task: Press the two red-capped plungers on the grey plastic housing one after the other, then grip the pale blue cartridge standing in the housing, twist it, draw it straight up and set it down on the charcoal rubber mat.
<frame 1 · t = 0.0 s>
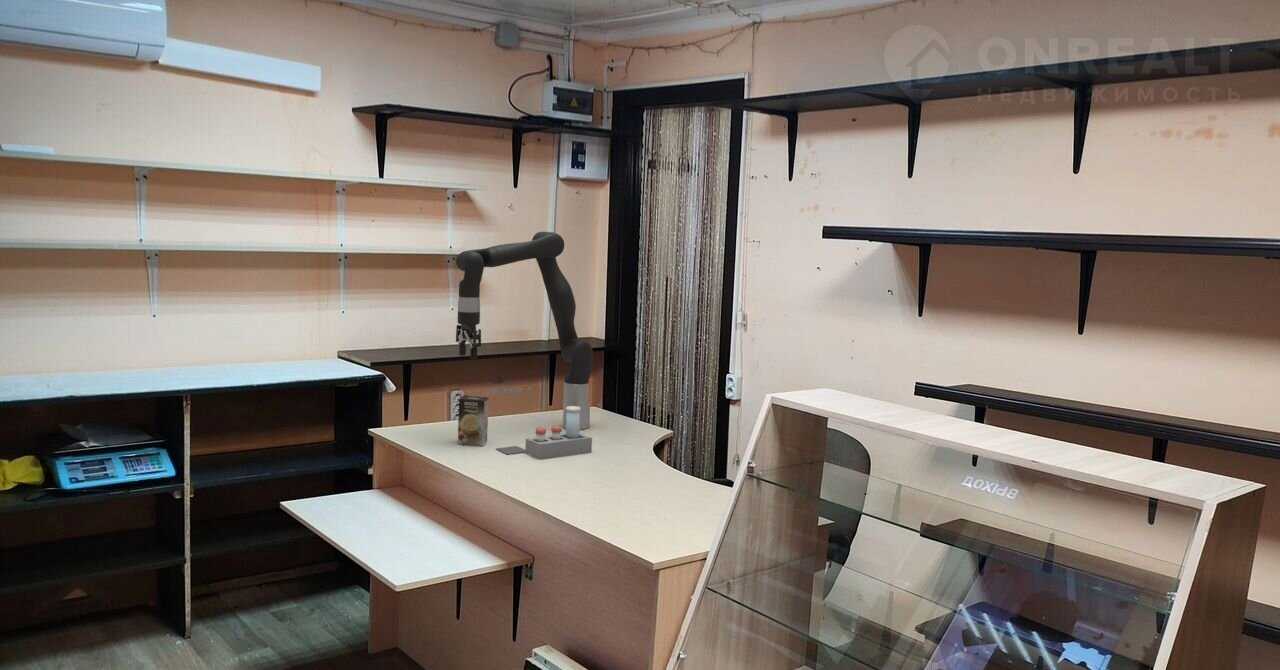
hand: (467, 357, 318), 29 cm above the table, tool pointing down, fingers open, 8 cm apart
cartridge: (571, 450, 313), resting in housing
plunger a: (556, 434, 309), point 6 cm above the table, slide at 0.0 cm
coffee box: (472, 444, 317), on the table
housing: (559, 452, 310), on the table
mat: (512, 450, 310), on the table
plunger b: (540, 436, 305), point 6 cm above the table, slide at 0.0 cm
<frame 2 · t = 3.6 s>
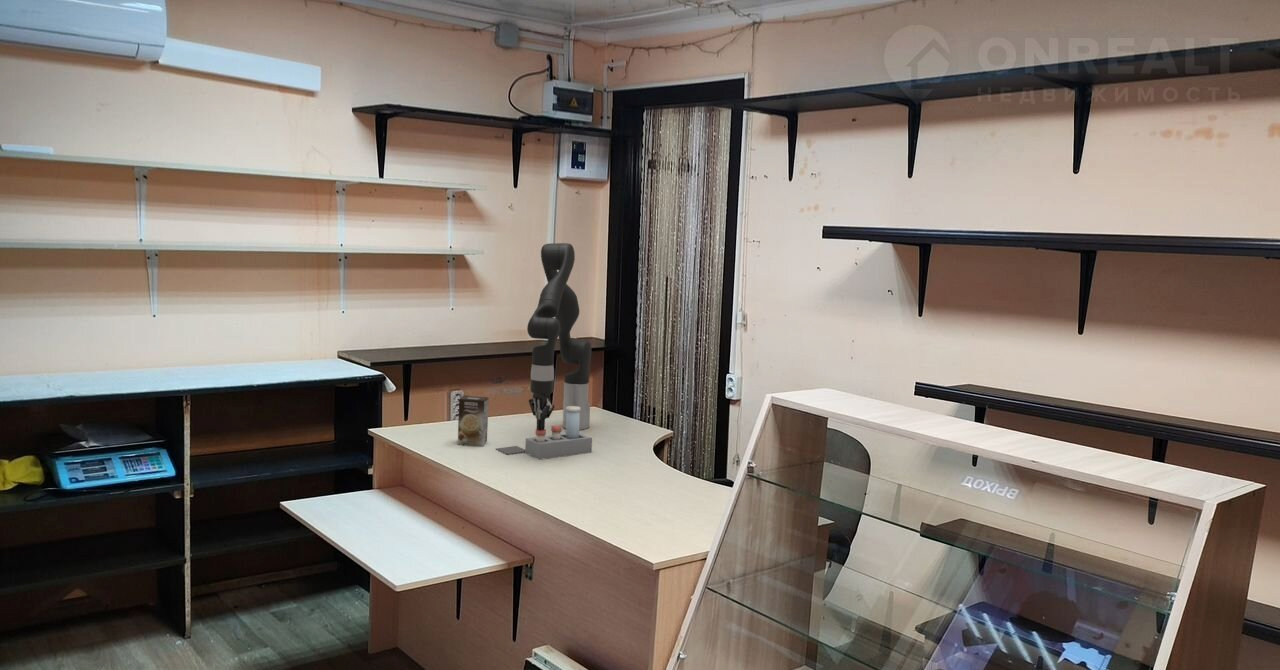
hand: (540, 429, 305), 9 cm above the table, tool pointing down, fingers closed
plunger b: (540, 438, 305), point 6 cm above the table, slide at -0.5 cm, touching gripper
everything else where it was.
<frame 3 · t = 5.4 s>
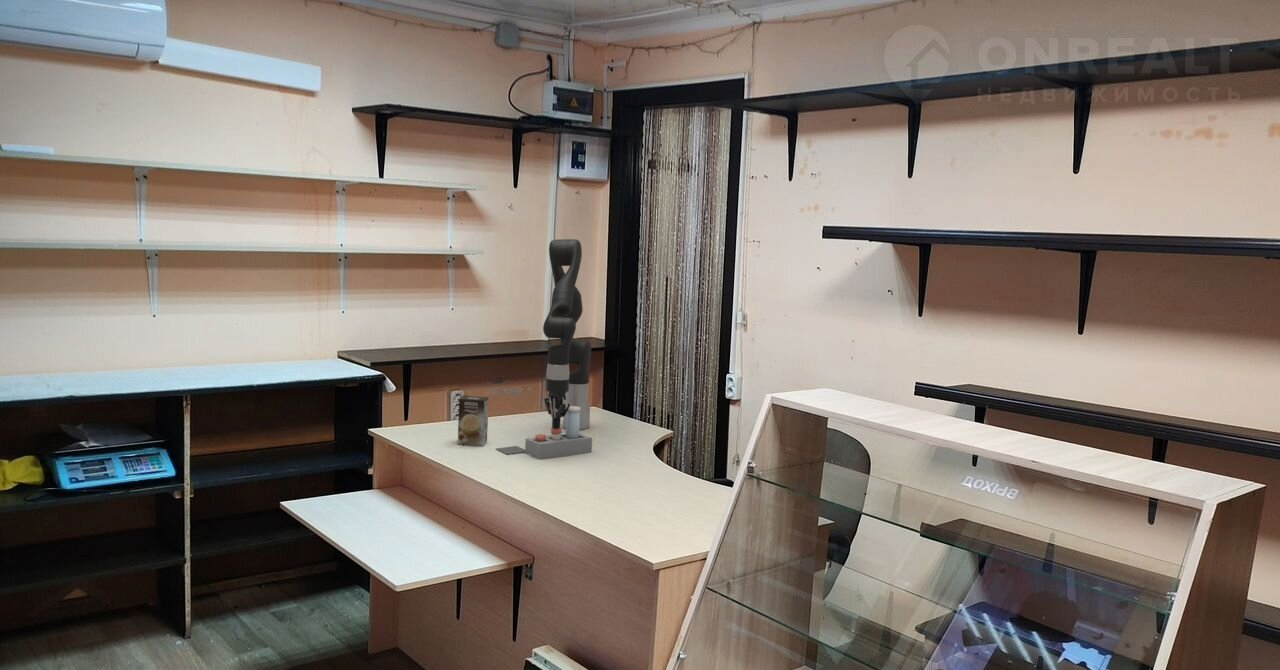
hand: (555, 428, 308), 8 cm above the table, tool pointing down, fingers closed
plunger a: (556, 436, 309), point 6 cm above the table, slide at -0.6 cm, touching gripper
plunger b: (540, 443, 305), point 4 cm above the table, slide at -2.3 cm
everything else where it was.
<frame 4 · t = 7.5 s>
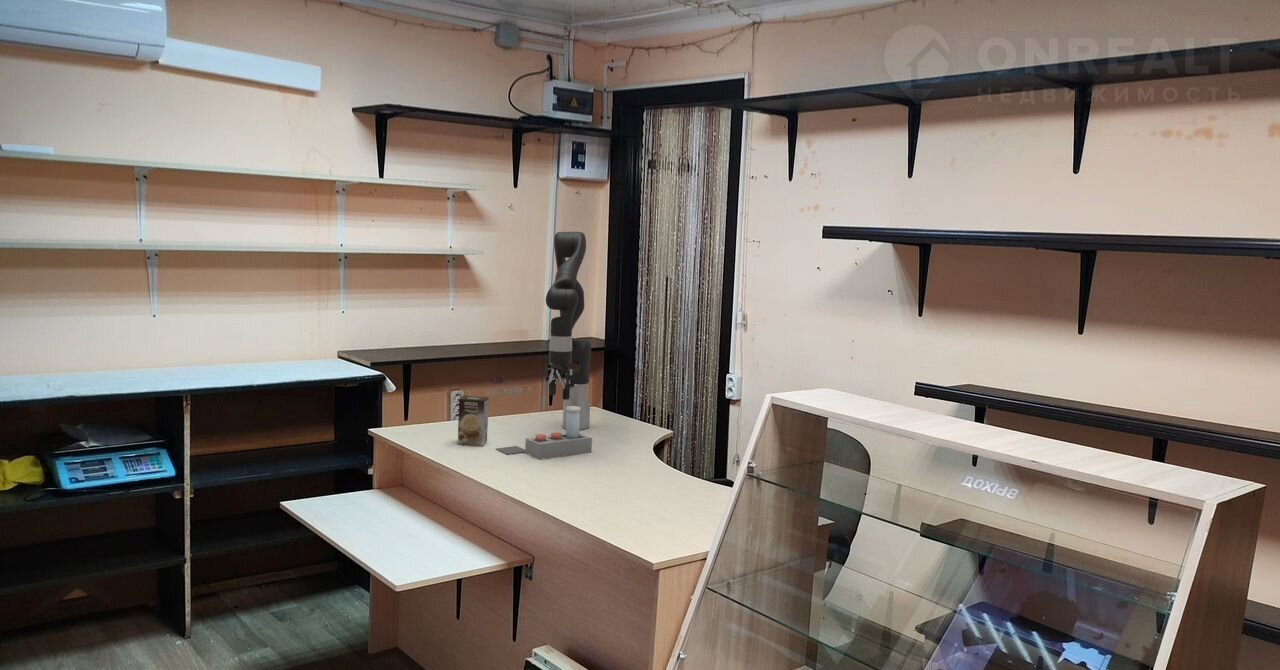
hand: (559, 397, 308), 19 cm above the table, tool pointing down, fingers open, 8 cm apart
plunger a: (555, 441, 309), point 4 cm above the table, slide at -2.3 cm
everything else where it was.
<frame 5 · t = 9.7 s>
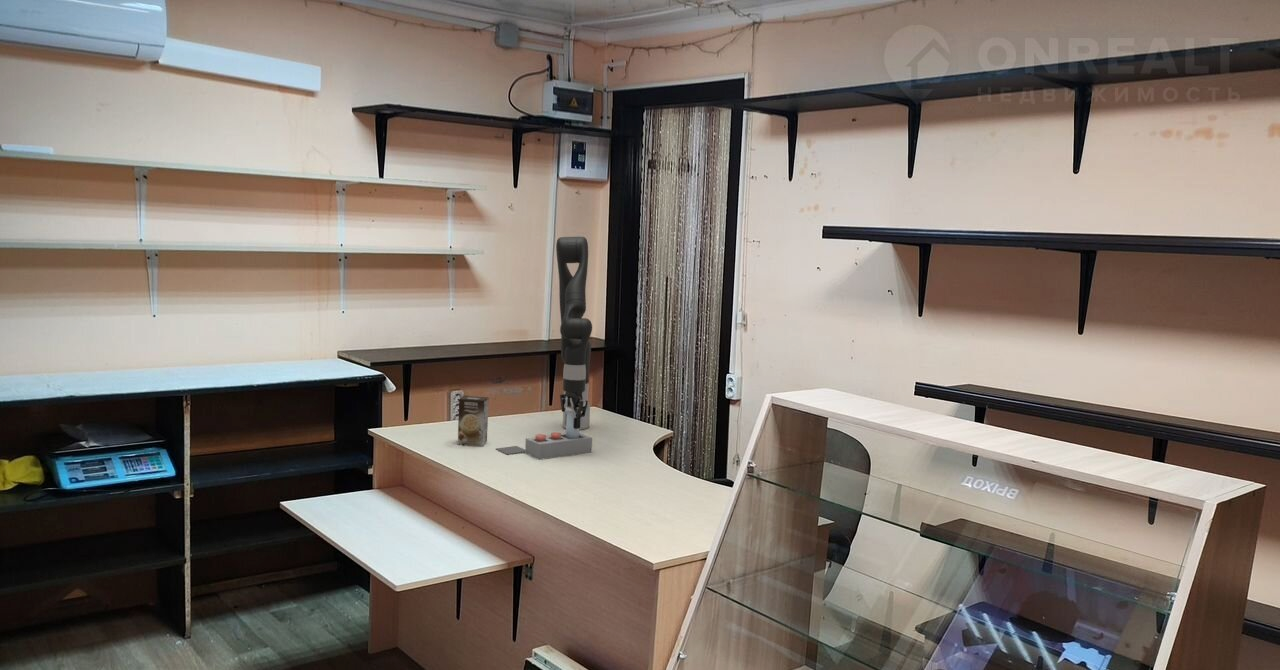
hand: (572, 426, 312), 8 cm above the table, tool pointing down, fingers closed on cartridge, 4 cm apart
cartridge: (571, 450, 314), resting in housing, touching gripper
everything else where it was.
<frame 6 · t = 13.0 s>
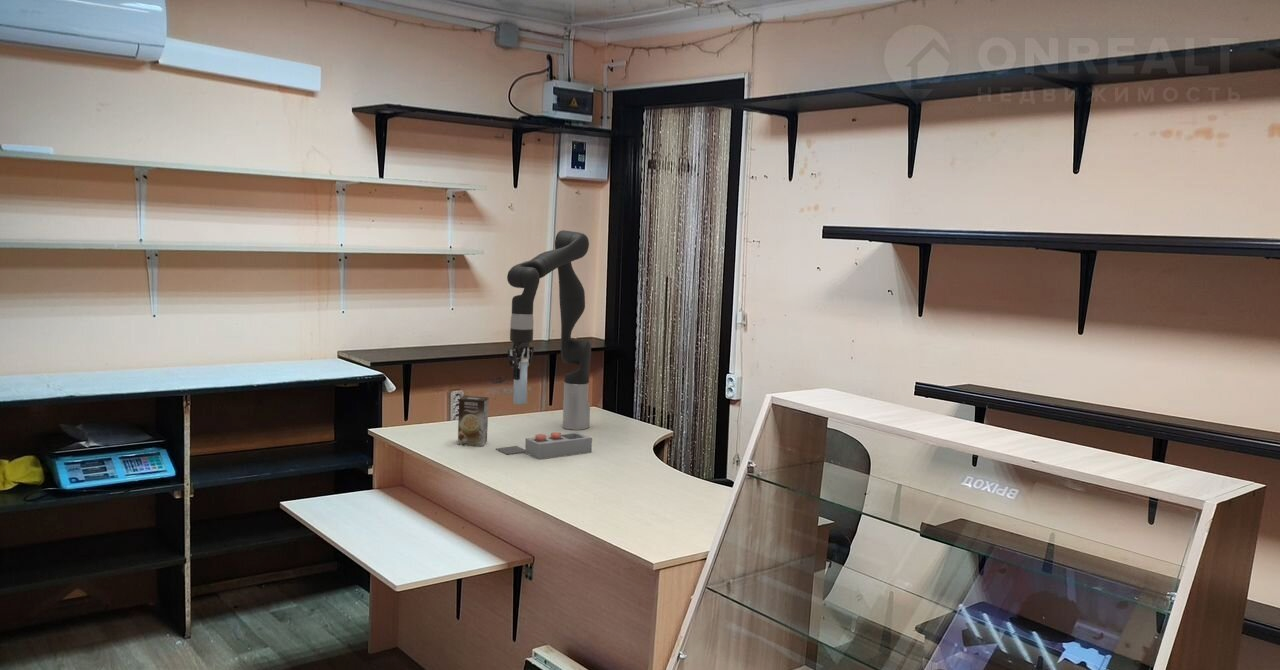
hand: (520, 378, 307), 25 cm above the table, tool pointing down, fingers closed on cartridge, 4 cm apart
cartridge: (520, 403, 307), point 16 cm above the table, touching gripper
everything else where it was.
when the fingers open (10 cm above the table, at t = 16.4 s): cartridge stays where it is, resting on mat.
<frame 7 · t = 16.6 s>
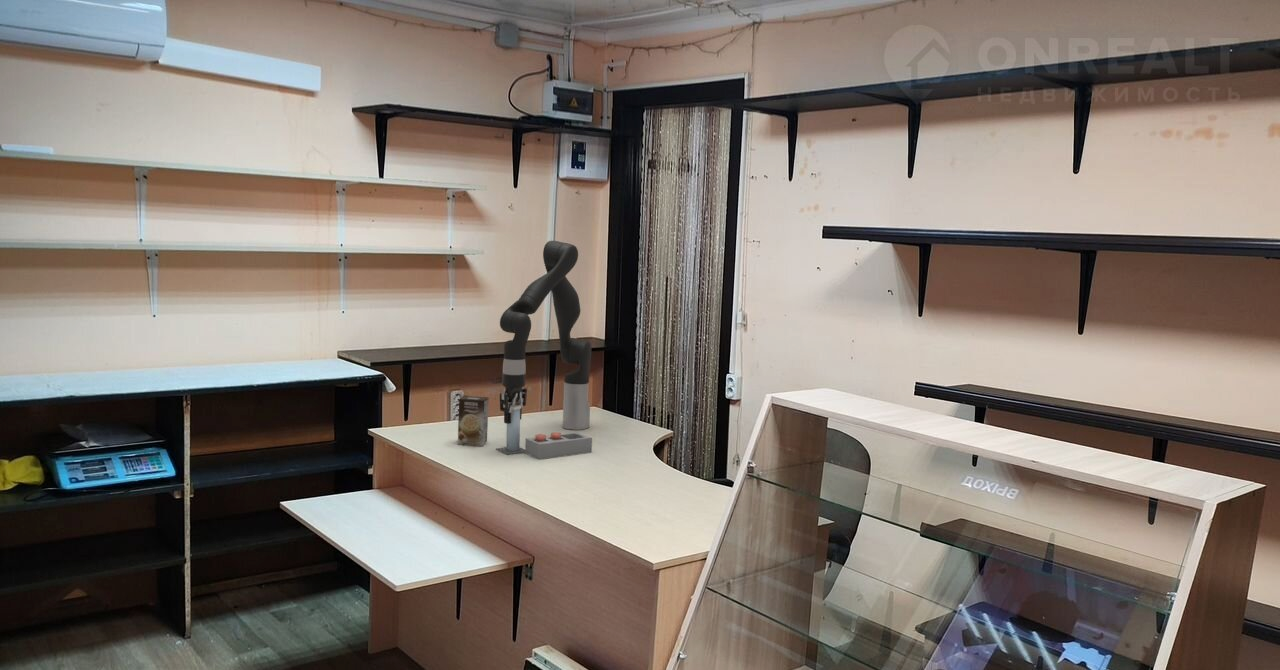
hand: (512, 421, 309), 10 cm above the table, tool pointing down, fingers open, 6 cm apart
cartridge: (512, 449, 310), resting on mat
everything else where it was.
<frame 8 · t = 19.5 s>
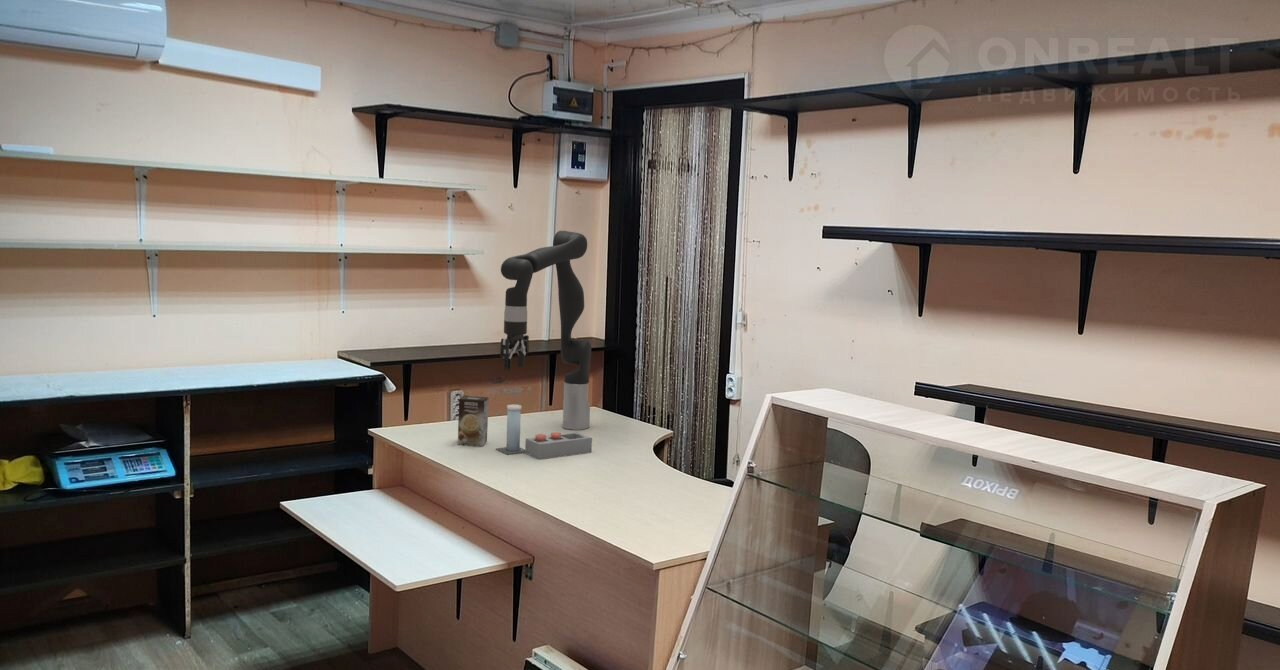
hand: (514, 368, 306), 28 cm above the table, tool pointing down, fingers open, 8 cm apart
nothing on the table moved.
at the end: cartridge inside the target area on the mat (0.4 cm from its centre), point 0.4 cm above the mat's base; cartridge tilted 0°; the gripper is holding nothing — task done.
